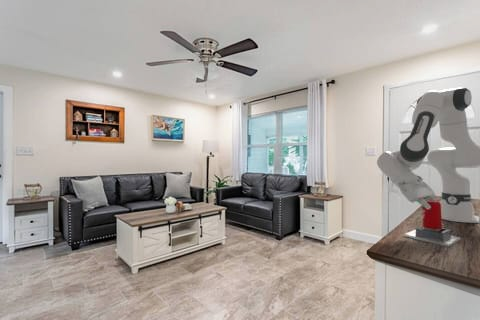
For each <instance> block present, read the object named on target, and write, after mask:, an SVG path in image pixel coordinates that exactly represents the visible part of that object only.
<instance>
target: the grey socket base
mask: <svg viewBox="0 0 480 320" xmlns="http://www.w3.org/2000/svg"><path fill="white" fill-rule="evenodd" d="M403 236H404V237H405V238H409V239H414V240H418V241H422V242H427V243H431V244H435V245H438V246H443V247H448V248H450V247H452V246H453V245H454V244H456V243H458V242H460V240H461V237H460V236H455V235H452V229H450V228H444V227H442V229H441V230H439V231H432V230H427V229H425V228H424V227H423V228H421V227H419V228H418V227H415V229H413V230H411V231H409V232H406V233H404V234H403Z"/></svg>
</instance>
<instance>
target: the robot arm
mask: <svg viewBox="0 0 480 320" xmlns="http://www.w3.org/2000/svg"><path fill="white" fill-rule="evenodd" d="M471 103H472V92H471V90H469V89H468V88H466V87H456V88H449V89H443V90H440V91H437V90H429V91H428V92H424V93H423V94H422V95H421V96H420V97H418V99H417V101H416V104H415V105H416V106H415V107H414V111H413V113H412V118H411V124H412V125H413V127H412V130H411V133H410V134H409V136H408V137H406V138H405V139H404V140H403V141H402V143H400V146H399V150H398V151H384V152H383V153H382V154H380V156H379V157H378V158H377V161H376V165H377V167H378V168H379V170H380V171H381V172H382V173H383V174H384V176H386V177H387V178H389V179H390V180H391V181H392V183H393V184H394V185H395V186H396V187H397V188H398V189H399V191H400V192H401V194H402V195H403V196H404V197H405V198H406V200H408V201H409V202H410V203H416V202H417V203H418V204H419V205H421V207H422V206H424V207H425V208H426V209H430V208H432V206H431V205H430V204H428V203H427V202H426V201H425V200H435V198H434V196H435V195H436V193H435V192H434V190H433V189H432V188H431V187H430V186H429V184H427V183H426V182H425V181H424V178H422V177H421V176H420V175H418V174H415V173H414V172H413V170H416V169H418V168H420V167H421V165H422V164H423V162H424V160H425V158H427V159H426V160H427V162H428V164H430V166H432V167H433V168H434V169H436V170H437V172H438V173H439V175H440V177H441V183H442V184H441V185H442V192H441V196H440V197H441V200H440V201H439V202H440V204H441V218H442V220H445V221H450V222H456V223H469V224H470V223H473V224H480V216H478V215H477V214H476V212H475V211H474V205H473V204H472V202H471V201H472V195H471V192H470V191H471V189H470V187H471V184H470V183H471V182H470V179H469V178H468V177H466V176H465V175H463V174H461V173H460V172H458V171H457V169H477V168H480V146H479V145H478V144H476V142H474V140H473V139H472V138H471V135H470V133H469V127H468V119H467V114H466V113H467V112H466V110H465V109H467V108H468V107H469V106H470V105H471ZM438 123H439V132H440V133H439V134H440V135H439V136H440V137H441V139H442V140H443V141H445V142H448V143H450V144H451V145H453V146H454V147H440V148H434V149H431V150H430V145H429V142H428V137H429V136H430V135H429V134H430V131H431V130H432V129H433V128H435V127H436V126H437V125H438ZM429 150H430V151H429ZM426 156H427V157H426Z"/></svg>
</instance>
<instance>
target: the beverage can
mask: <svg viewBox="0 0 480 320" xmlns="http://www.w3.org/2000/svg"><path fill="white" fill-rule="evenodd" d="M425 201H426V202H427V203H428V204H430V205H431V206H432V208H430V209H426V208H425V207H424V206H422V205H421V207H422V208H421V212H422V228H423V229H424V228H425V229H427V230H432V231H439V230H441V229H442V228H443V223H442V220H443V219H442V218H441V204H440V201H439V199H438V200H437V199H434V200H426V199H425Z"/></svg>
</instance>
